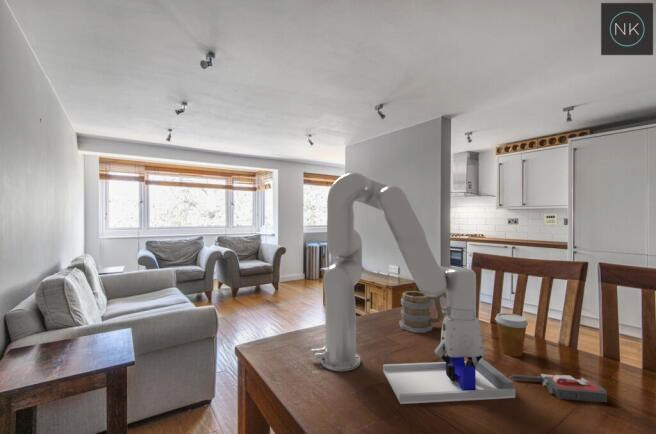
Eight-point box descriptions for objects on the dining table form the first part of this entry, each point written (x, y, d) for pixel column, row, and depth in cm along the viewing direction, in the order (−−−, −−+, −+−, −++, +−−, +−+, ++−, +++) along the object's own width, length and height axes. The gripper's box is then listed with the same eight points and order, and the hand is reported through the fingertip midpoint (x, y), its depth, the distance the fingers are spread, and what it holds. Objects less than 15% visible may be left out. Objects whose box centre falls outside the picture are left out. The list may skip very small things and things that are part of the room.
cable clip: (446, 368, 88) (446, 348, 88) (462, 369, 87) (462, 349, 87) (456, 391, 76) (456, 368, 76) (475, 393, 75) (475, 369, 75)
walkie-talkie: (589, 385, 81) (510, 379, 84) (589, 369, 81) (510, 363, 84) (614, 405, 72) (525, 397, 76) (614, 387, 72) (525, 380, 76)
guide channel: (400, 403, 72) (400, 389, 72) (383, 371, 88) (383, 359, 88) (515, 397, 75) (515, 383, 75) (478, 367, 90) (478, 355, 90)
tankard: (403, 332, 118) (403, 295, 118) (397, 321, 130) (397, 287, 131) (454, 333, 117) (454, 295, 117) (443, 322, 130) (443, 288, 130)
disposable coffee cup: (525, 349, 103) (525, 314, 103) (530, 361, 94) (530, 323, 94) (493, 344, 107) (493, 311, 107) (496, 355, 98) (496, 319, 98)
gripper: (437, 318, 78) (437, 387, 77) (498, 316, 79) (498, 384, 79) (425, 309, 85) (425, 372, 85) (481, 308, 86) (481, 370, 86)
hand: (460, 377), depth 82 cm, fingers closed on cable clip, 5 cm apart
